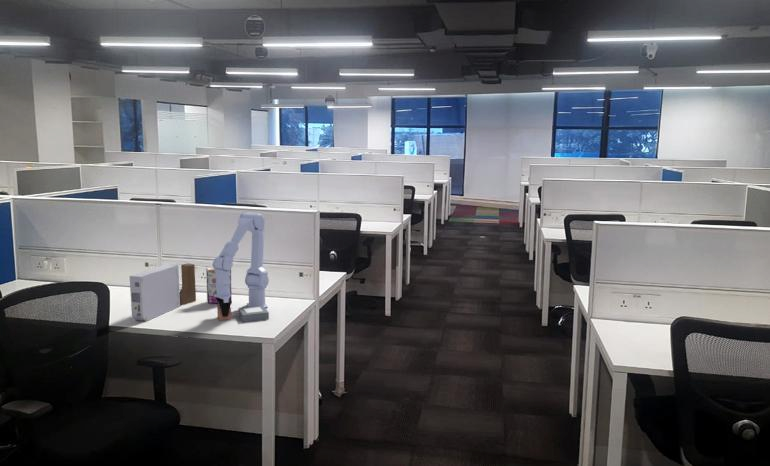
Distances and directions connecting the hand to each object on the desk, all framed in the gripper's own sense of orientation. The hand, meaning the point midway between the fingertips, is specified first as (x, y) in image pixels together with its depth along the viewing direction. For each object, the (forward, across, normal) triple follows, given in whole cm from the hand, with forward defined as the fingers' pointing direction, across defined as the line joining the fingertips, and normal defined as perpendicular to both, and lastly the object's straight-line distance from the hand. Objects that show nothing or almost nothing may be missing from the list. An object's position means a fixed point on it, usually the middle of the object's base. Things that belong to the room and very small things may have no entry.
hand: (224, 314), depth 262 cm
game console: (+2, -18, -26) cm, 32 cm away
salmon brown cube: (+1, 0, 0) cm, 1 cm away
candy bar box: (+2, -28, +2) cm, 28 cm away
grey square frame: (+2, +3, +12) cm, 12 cm away
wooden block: (+2, -33, -13) cm, 36 cm away
